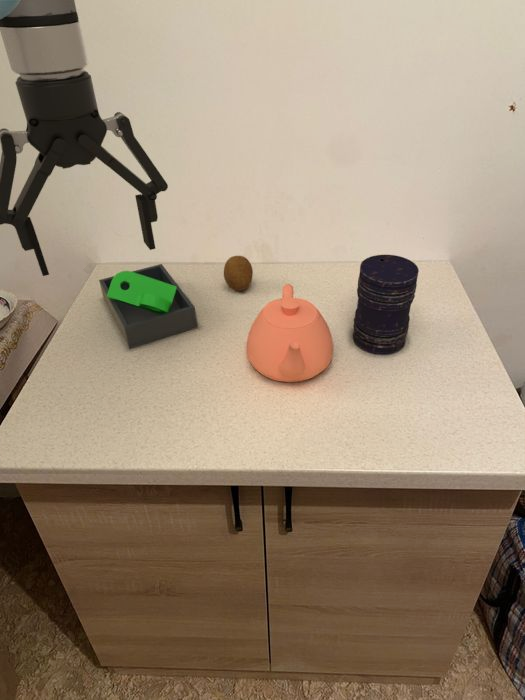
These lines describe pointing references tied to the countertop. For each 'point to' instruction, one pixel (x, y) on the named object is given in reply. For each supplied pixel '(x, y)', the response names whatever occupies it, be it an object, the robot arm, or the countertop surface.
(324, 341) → the teapot
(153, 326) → the dark grey open tray
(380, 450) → the countertop surface
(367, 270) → the dark blue cylinder
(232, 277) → the fruit
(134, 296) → the mechanical part
